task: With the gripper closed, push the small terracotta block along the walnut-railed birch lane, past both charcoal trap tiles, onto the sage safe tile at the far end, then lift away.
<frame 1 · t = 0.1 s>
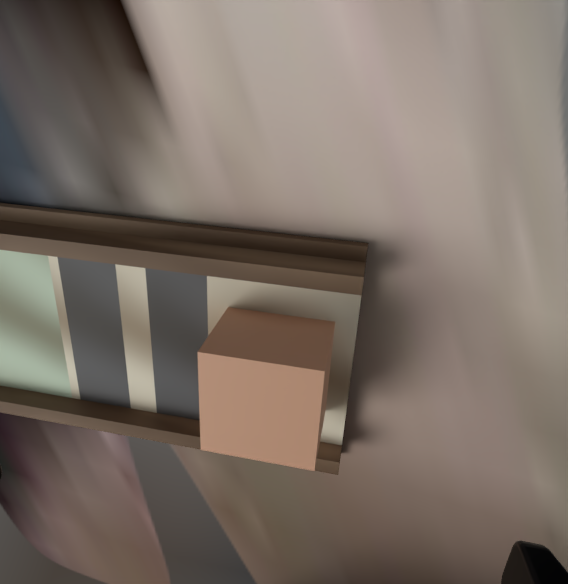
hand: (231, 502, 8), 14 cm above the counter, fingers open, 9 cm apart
terracotta block: (278, 360, 23), point 1 cm above the counter, touching trap lane
trap lane: (141, 328, 25), on the counter
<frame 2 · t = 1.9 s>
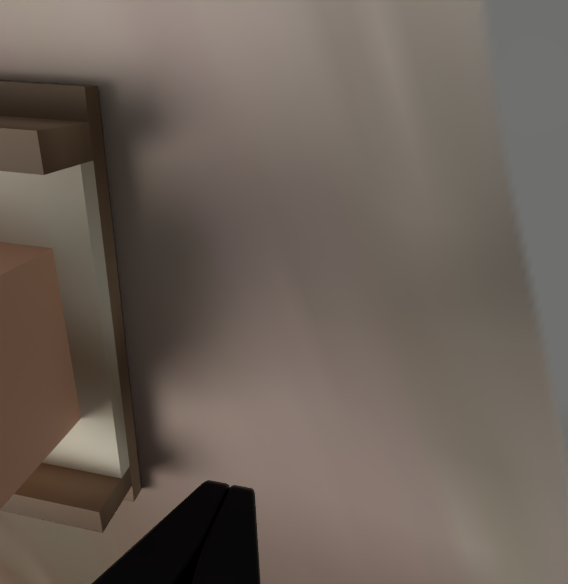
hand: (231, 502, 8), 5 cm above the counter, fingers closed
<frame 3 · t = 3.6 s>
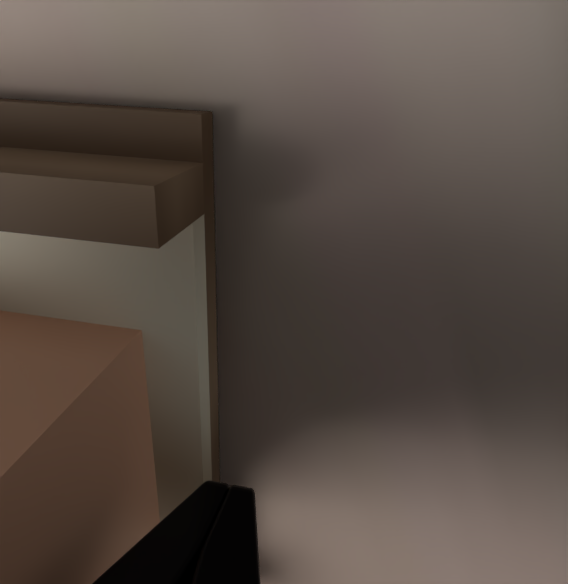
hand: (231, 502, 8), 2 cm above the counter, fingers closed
terracotta block: (36, 422, 10), point 1 cm above the counter, touching gripper, trap lane
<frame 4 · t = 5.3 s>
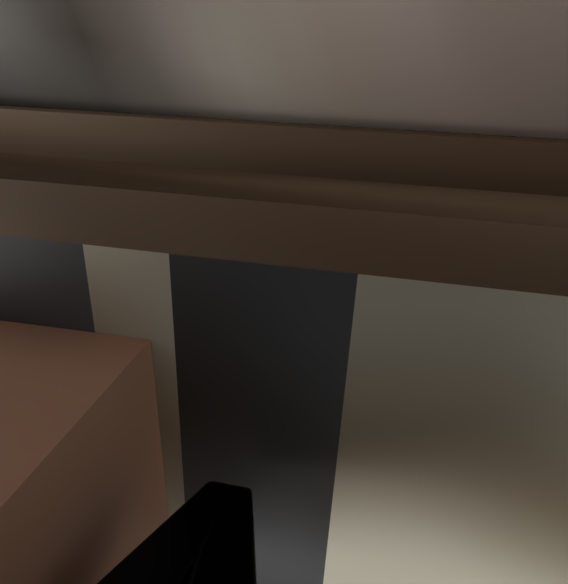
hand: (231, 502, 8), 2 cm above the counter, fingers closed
terracotta block: (47, 430, 10), point 1 cm above the counter, touching gripper, trap lane
trap lane: (155, 408, 10), on the counter
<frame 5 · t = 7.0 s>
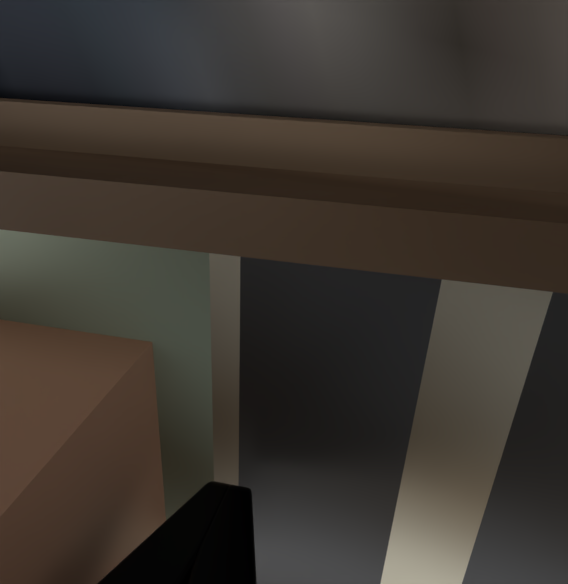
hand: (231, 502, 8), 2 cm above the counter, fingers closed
terracotta block: (45, 430, 10), point 1 cm above the counter, touching gripper, trap lane
trap lane: (424, 450, 9), on the counter
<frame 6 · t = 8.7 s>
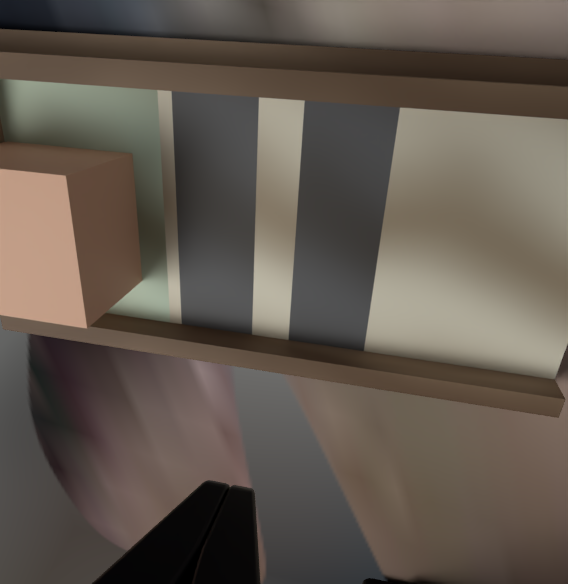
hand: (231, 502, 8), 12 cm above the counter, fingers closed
terracotta block: (77, 213, 19), point 1 cm above the counter, touching trap lane
trap lane: (274, 221, 18), on the counter
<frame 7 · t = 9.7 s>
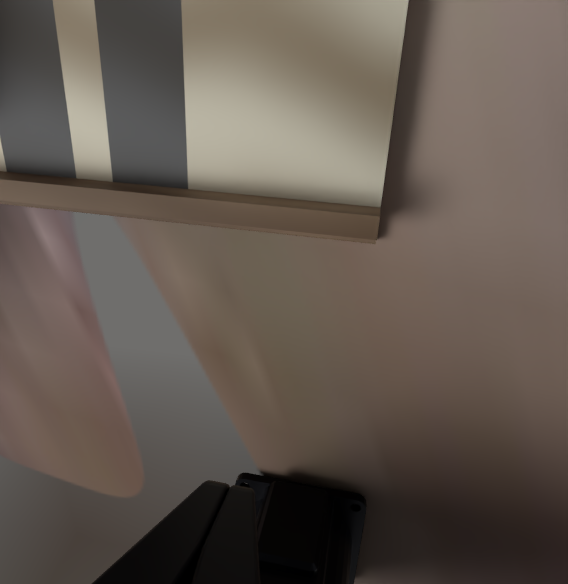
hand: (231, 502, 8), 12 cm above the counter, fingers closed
trap lane: (88, 48, 17), on the counter
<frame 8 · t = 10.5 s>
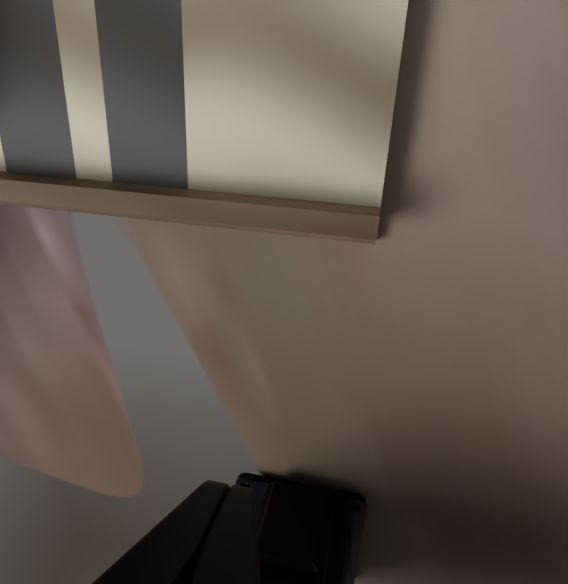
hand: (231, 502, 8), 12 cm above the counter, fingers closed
trap lane: (88, 48, 17), on the counter
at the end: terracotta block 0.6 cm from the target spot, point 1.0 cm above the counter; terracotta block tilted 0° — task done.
